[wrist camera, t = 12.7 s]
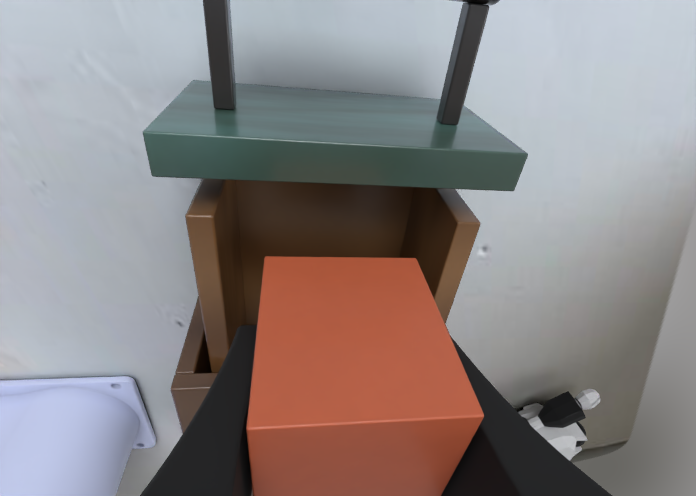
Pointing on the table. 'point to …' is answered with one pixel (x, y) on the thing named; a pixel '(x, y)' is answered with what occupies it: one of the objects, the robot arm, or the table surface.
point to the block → (354, 382)
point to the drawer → (325, 175)
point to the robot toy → (562, 420)
